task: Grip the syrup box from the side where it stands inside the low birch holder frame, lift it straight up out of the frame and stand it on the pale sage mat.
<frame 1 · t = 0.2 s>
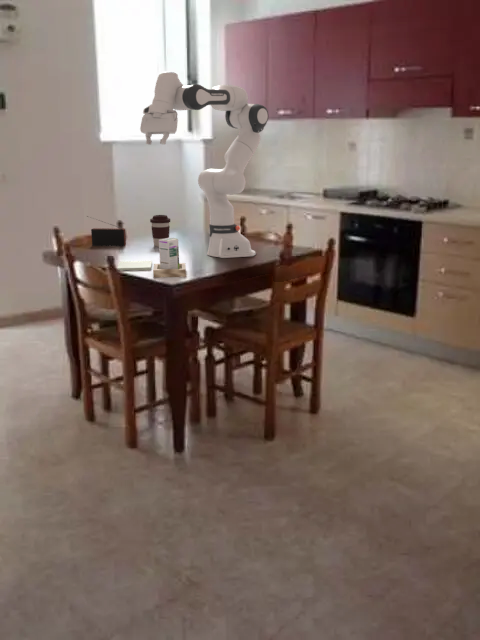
hand: (155, 144, 300), 51 cm above the table, tool tilted 20°, fingers open, 8 cm apart
coffee cup: (161, 246, 363), on the table
birch holder: (169, 273, 299), on the table
syrup box: (169, 274, 299), resting in birch holder
sage mat: (135, 267, 313), on the table
radio: (107, 246, 365), on the table
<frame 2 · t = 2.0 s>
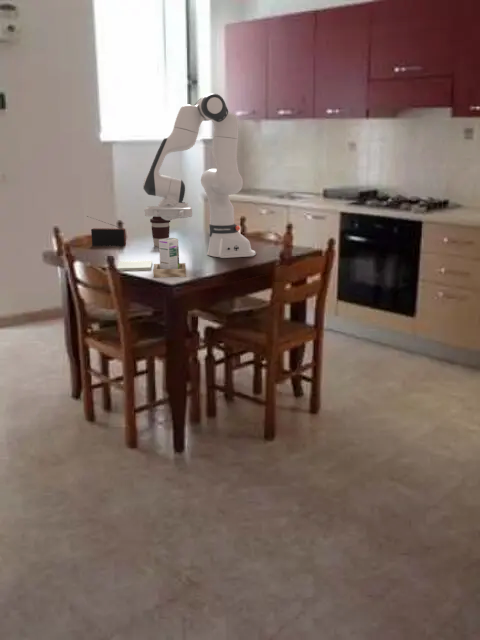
hand: (168, 214, 307), 23 cm above the table, tool horizontal, fingers open, 8 cm apart
nothing on the table moved.
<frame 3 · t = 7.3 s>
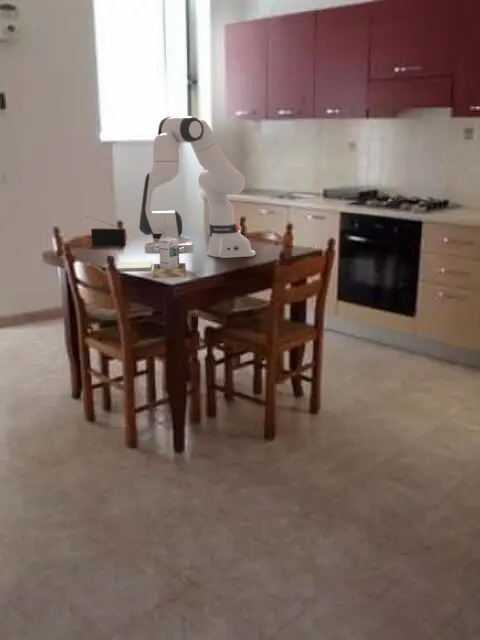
hand: (169, 251, 296), 10 cm above the table, tool horizontal, fingers closed on syrup box, 8 cm apart
syrup box: (169, 274, 299), resting in birch holder, touching gripper
everything else where it was.
when the fingers open (12 cm above the table, at t = 14.6 s): syrup box stays where it is, resting on sage mat.
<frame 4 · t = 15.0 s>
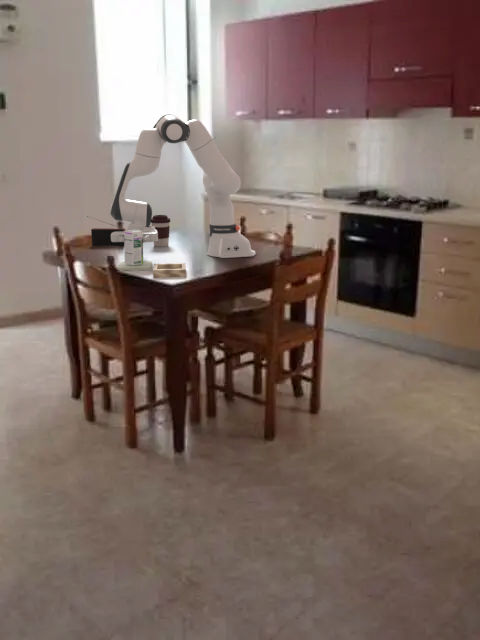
hand: (133, 239, 309), 12 cm above the table, tool horizontal, fingers open, 8 cm apart
syrup box: (133, 264, 312), point 1 cm above the table, touching gripper, sage mat
everything else where it was.
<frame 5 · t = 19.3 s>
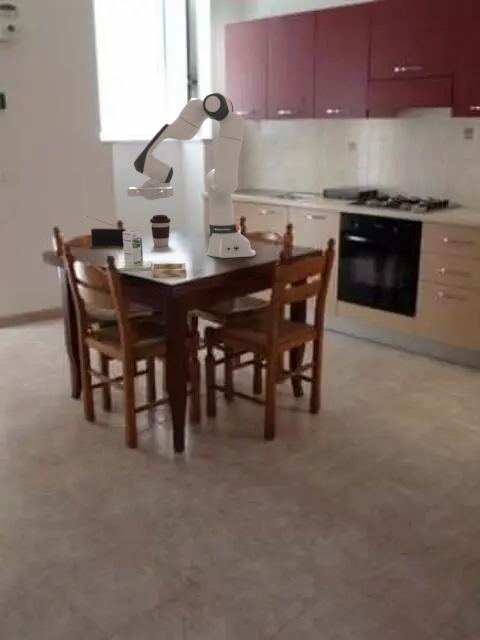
hand: (149, 193, 317), 30 cm above the table, tool horizontal, fingers open, 8 cm apart
syrup box: (133, 265, 312), point 1 cm above the table, touching sage mat
everything else where it was.
at the end: syrup box inside the target area on the sage mat (0.5 cm from its centre), point 1.0 cm above the sage mat's base; syrup box tilted 0°; the gripper is holding nothing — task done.
